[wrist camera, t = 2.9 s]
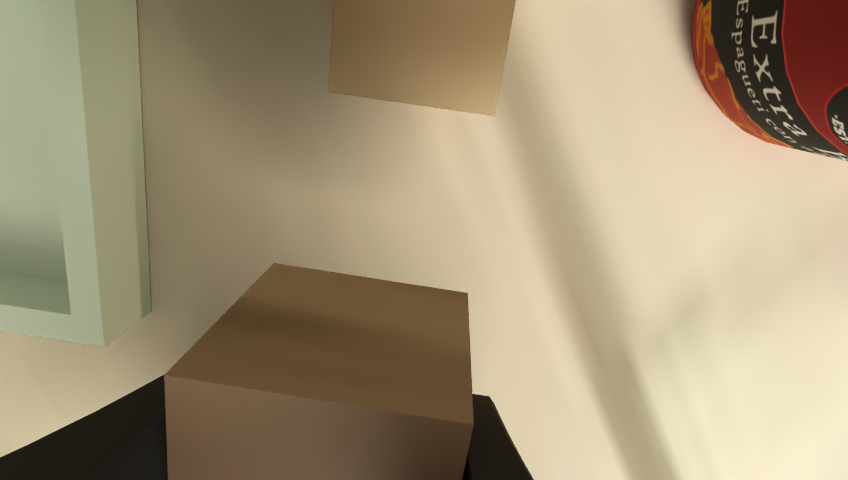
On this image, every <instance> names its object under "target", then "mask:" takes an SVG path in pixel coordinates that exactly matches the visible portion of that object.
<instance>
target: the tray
mask: <svg viewBox="0 0 848 480" xmlns="http://www.w3.org/2000/svg"><path fill="white" fill-rule="evenodd" d="M149 312H151V292H150V271H149V251H148V230H147V209H146V189H145V168H144V147H143V126H142V106H141V85H140V64H139V43H138V23H137V2H136V0H0V331H3V332H10V333H16V334H22V335H29V336H35V337H42V338H48V339H54V340H61V341H67V342H74V343H80V344H86V345H93V346H99V347H105V346H107V345H108V344H109V343H110V342H112V341H113V340H114V339H116V338H117V337H118V336H120V335H121V334H122V333H123V332H125V331H126V330H127V329H129V328H130V327H131V326H132V325H134V324H135V323H136V322H138V321H139V320H140V319H142V318H143V317H144V316H145V315H147V314H148V313H149Z"/></svg>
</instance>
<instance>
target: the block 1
mask: <svg viewBox="0 0 848 480" xmlns="http://www.w3.org/2000/svg"><path fill="white" fill-rule="evenodd" d="M164 381H165V409H166V437H167V466H168V480H462V478H463V473H464V468H465V464H466V459H467V454H468V449H469V444H470V440H471V435H472V430H473V425H474V422H473V400H472V378H471V356H470V335H469V313H468V293H463V292H457V291H451V290H444V289H438V288H431V287H425V286H418V285H412V284H405V283H399V282H392V281H386V280H379V279H373V278H367V277H360V276H354V275H347V274H341V273H334V272H328V271H321V270H315V269H308V268H302V267H295V266H289V265H283V264H276V263H274V264H273V265H272V266H271V267H270V268H269V269H268V270H267V271H266V272H265V273H264V274H263V275H262V276H261V277H260V278H259V279H258V280H257V281H256V282H255V283H254V284H253V285H252V286H251V287H250V288H249V289H248V290H247V291H246V292H245V293H244V294H243V295H242V296H241V297H240V298H239V300H238V301H237V302H236V303H235V304H234V305H233V306H232V307H231V308H230V309H229V310H228V311H227V312H226V313H225V314H224V315H223V316H222V317H221V318H220V319H219V320H218V321H217V322H216V323H215V324H214V325H213V326H212V327H211V328H210V329H209V330H208V331H207V332H206V333H205V334H204V335H203V336H202V337H201V338H200V339H199V340H198V341H197V342H196V343H195V344H194V345H193V346H192V347H191V349H190V350H189V351H188V352H187V353H186V354H185V355H184V356H183V357H182V358H181V359H180V360H179V361H178V362H177V363H176V364H175V365H174V366H173V367H172V368H171V369H170V370H169V371H168V372H167V373H166V374H165V375H164Z"/></svg>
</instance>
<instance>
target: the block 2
mask: <svg viewBox="0 0 848 480" xmlns="http://www.w3.org/2000/svg"><path fill="white" fill-rule="evenodd" d="M515 1H516V0H334V14H333V28H332V42H331V56H330V70H329V85H328V92H332V93H339V94H346V95H353V96H360V97H367V98H373V99H380V100H387V101H394V102H401V103H408V104H415V105H421V106H428V107H435V108H442V109H449V110H456V111H462V112H469V113H476V114H483V115H490V116H495V113H496V107H497V101H498V96H499V90H500V85H501V79H502V73H503V68H504V62H505V57H506V51H507V45H508V40H509V34H510V29H511V23H512V18H513V12H514V6H515Z"/></svg>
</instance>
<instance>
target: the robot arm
mask: <svg viewBox="0 0 848 480" xmlns="http://www.w3.org/2000/svg"><path fill="white" fill-rule="evenodd" d="M472 400H473V422H474V425H473V430H472V435H471V440H470V444H469V449H468V454H467V459H466V464H465V468H464V473H463V478H462V480H534V479H533V478H532V476H531V474H530V472H529V471H528V469H527V467H526V466H525V464H524V462H523V460H522V458H521V457H520V455H519V453H518V451H517V449H516V447H515V445H514V443H513V441H512V440H511V438H510V436H509V434H508V432H507V430H506V428H505V426H504V424H503V422H502V420H501V417H500V415H499V413H498V411H497V409H496V407H495V404H494V403H493V401H492V400H491V398H490V397H488V396H482V395H476V394H472ZM0 480H168V466H167V437H166V409H165V381H164V375H163V376H161V377H159V378H157V379H155V380H154V381H152V382H150V383H148V384H146V385H144V386H143V387H141V388H139V389H137V390H135V391H133V392H131V393H129V394H128V395H126V396H124V397H122V398H120V399H118V400H116V401H115V402H113V403H111V404H109V405H107V406H105V407H103V408H101V409H100V410H98V411H96V412H94V413H92V414H90V415H88V416H86V417H84V418H82V419H79V420H77V421H75V422H73V423H71V424H69V425H67V426H65V427H63V428H61V429H59V430H57V431H55V432H53V433H51V434H49V435H47V436H45V437H43V438H41V439H39V440H37V441H35V442H33V443H31V444H29V445H27V446H25V447H22V448H20V449H18V450H16V451H14V452H11V453H9V454H7V455H5V456H3V457H0Z"/></svg>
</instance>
